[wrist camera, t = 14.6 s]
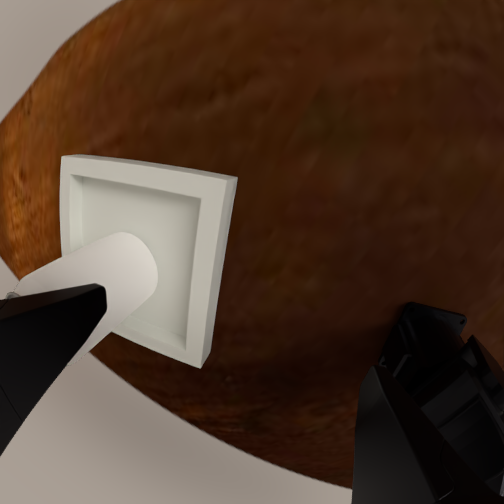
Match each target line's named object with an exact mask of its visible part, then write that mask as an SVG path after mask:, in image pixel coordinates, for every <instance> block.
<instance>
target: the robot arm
mask: <svg viewBox="0 0 504 504" xmlns="http://www.w3.org/2000/svg"><path fill="white" fill-rule="evenodd" d="M411 307H413V309H412V310H409V309H410V308H411ZM106 311H107V296H106V289H105V287H104V286H102V285H99V284H97V283H92V284H87V285H81V286H76V287H70V288H64V289H59V290H53V291H48V292H42V293H36V294H31V295H25V296H20V297H14V298H10V299H9V298H8V299H3V300H0V456H1V455H2V453H3V452H4V450H5V448H6V447H7V445H8V444H9V442H10V441H11V439H12V438H13V437H14V435H15V434H16V432H17V431H18V429H19V428H20V426H21V425H22V423H23V422H24V421H25V419H26V418H27V416H28V415H29V414H30V412H31V411H32V409H33V408H34V407H35V405H36V404H37V403H38V401H39V400H40V399H41V397H42V396H43V395H44V393H45V392H46V391H47V389H48V388H49V387H50V385H51V384H52V383H53V382H54V381H55V379H56V378H57V376H58V375H59V374H60V373H61V372H62V370H63V369H64V368H65V367H66V365H67V364H68V363H69V362H70V361H71V359H72V358H73V357H74V356H75V354H76V353H77V352H78V351H79V350H80V348H81V347H82V346H83V345H84V343H85V342H86V341H87V339H88V338H89V336H90V335H91V334H92V332H93V331H94V329H95V328H96V326H97V325H98V323H99V322H100V320H101V319H102V318H103V316H104V315H105V313H106ZM462 319H463V320H462ZM461 320H462V321H461ZM460 321H461V322H460ZM466 322H467V318H466V317H465V315H463V314H459V313H455V312H451V311H447V310H443V309H439V308H435V307H431V306H427V305H423V304H419V303H415V302H409V303H408V304H407V305H406V306H405V308H404V310H403V313H402V315H401V317H400V319H399V321H398V323H397V324H396V325H395V326H394V327H393V329H392V331H391V333H390V335H389V337H388V339H387V341H386V343H385V345H384V347H383V349H382V350H383V353H382V354H381V356H380V358H379V360H378V362H379V366H378V365H373V366H372V367H371V368H370V369H369V371H368V373H367V375H366V376H365V378H364V380H363V382H362V383H361V386H360V391H359V401H358V410H357V419H356V427H355V454H354V476H353V491H352V503H351V504H504V372H503V370H502V368H501V367H500V365H499V364H498V362H497V361H496V360H495V359H494V357H493V356H492V355H491V354H490V353H489V352H488V351H487V349H486V348H485V347H484V346H483V345H482V344H481V343H480V342H479V341H478V339H477V338H476V337H475V336H474V335H472V336H471V337H470V338H469V339H468V340H467V341H468V342H467V343H466V344H465V343H464V341H463V340H462V338H461V336H460V334H461V332H462V330H463V328H464V326H465V324H466ZM383 361H385V362H383ZM382 362H383V363H382ZM386 368H387V369H386Z"/></svg>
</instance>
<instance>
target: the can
mask: <svg viewBox="0 0 504 504" xmlns="http://www.w3.org/2000/svg"><path fill="white" fill-rule="evenodd" d="M92 283H97V284H99V285H102V286H104V287H105V289H106V296H107V311H106V313H105V315H104V316H103V318H102V319H101V320H100V322H99V323H98V325H97V326H96V328H95V329H94V331H93V332H92V334H91V335H90V336H89V338H88V339H87V341H86V342H85V343H84V345H83V346H82V347H81V348H80V350H79V351H78V352H77V353H76V354H75V356H74V357H73V358H72V359H71V361H70V362H69V363H68V364H67V365H66V366H69V365H72V364H74V363H76V362H77V361H78V360H79V359H80V358H82V357H83V356H84V355H85V354H86V353H87V352H89V351H90V350H91V349H92V348H93V347H94V346H95V345H96V344H97V343H99V342H100V341H101V340H102V339H103V338H104V337H105V336H106V335H107V334H109V333H110V332H111V331H112V330H113V329H114V328H115V327H116V326H118V325H119V324H120V323H121V322H122V321H123V320H124V319H125V318H127V317H128V316H129V315H130V314H131V313H132V312H133V311H134V310H136V309H137V308H138V307H139V306H140V305H141V304H142V303H144V302H145V301H146V300H147V299H148V298H149V297H150V296H151V295H152V294H153V293H154V291H155V289H156V287H157V283H158V270H157V265H156V262H155V259H154V257H153V254H152V253H151V251H150V250H149V248H148V247H147V246H146V244H145V243H144V242H142V241H141V240H140V239H139V238H137V237H136V236H134V235H132V234H130V233H126V232H117V233H114V234H111V235H109V236H106V237H104V238H102V239H99V240H97V241H95V242H93V243H91V244H88V245H86V246H84V247H82V248H80V249H78V250H76V251H73V252H71V253H69V254H67V255H65V256H63V257H61V258H59V259H57V260H55V261H53V262H51V263H49V264H47V265H45V266H43V267H41V268H39V269H37V270H36V271H34V272H32V273H30V274H28V275H27V276H25V277H24V278H22V279H21V280H20V281H19V283H18V284H17V286H16V288H15V289H14V291H13V292H10V293H8V294H7V296H6V298H5V299H8V298H9V299H10V298H14V297H20V296H25V295H31V294H36V293H42V292H48V291H53V290H59V289H64V288H70V287H76V286H81V285H87V284H92Z"/></svg>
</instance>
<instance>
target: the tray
mask: <svg viewBox="0 0 504 504" xmlns="http://www.w3.org/2000/svg"><path fill="white" fill-rule="evenodd" d="M237 180H238V177H233V176H228V175H223V174H218V173H212V172H207V171H201V170H196V169H190V168H184V167H178V166H171V165H165V164H158V163H151V162H144V161H137V160H129V159H121V158H112V157H103V156H93V155H83V154H78V155H68V156H62V158H61V174H60V232H61V249H62V257H63V256H65V255H67V254H69V253H71V252H73V251H76V250H78V249H80V248H82V247H84V246H86V245H88V244H91V243H93V242H95V241H97V240H99V239H102V238H104V237H106V236H109V235H111V234H114V233H117V232H126V233H130V234H132V235H134V236H136V237H137V238H139V239H140V240H141V241H142V242H144V243H145V244H146V246H147V247H148V248H149V250H150V251H151V253H152V254H153V257H154V259H155V262H156V265H157V270H158V283H157V287H156V289H155V291H154V293H153V294H152V295H151V296H150V297H149V298H148V299H147V300H146V301H145V302H144V303H142V304H141V305H140V306H139V307H138V308H137V309H136V310H134V311H133V312H132V313H131V314H130V315H129V316H128V317H127V318H125V319H124V320H123V321H122V322H121V323H120V324H119V325H118V326H116V327H115V328H114V329H113V330H112V332H114V333H116V334H118V335H120V336H122V337H125V338H127V339H129V340H131V341H133V342H135V343H138V344H140V345H142V346H145V347H147V348H149V349H152V350H154V351H156V352H159V353H161V354H164V355H166V356H169V357H171V358H174V359H176V360H179V361H181V362H184V363H187V364H189V365H192V366H195V367H197V368H200V369H201V367H202V365H203V364H204V362H205V360H206V358H207V357H208V355H209V353H210V350H211V343H212V336H213V329H214V322H215V315H216V308H217V301H218V295H219V288H220V281H221V275H222V269H223V262H224V256H225V250H226V244H227V238H228V232H229V226H230V220H231V214H232V208H233V202H234V197H235V191H236V185H237Z"/></svg>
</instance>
